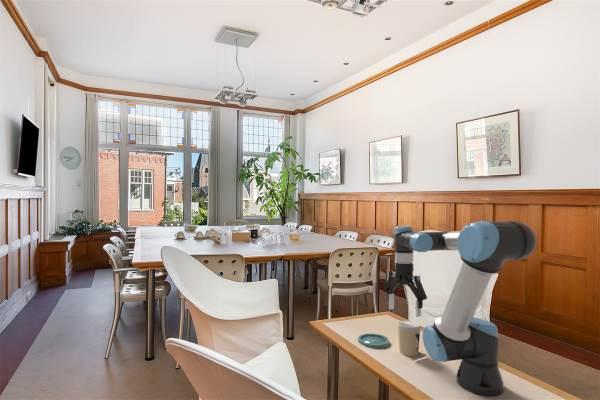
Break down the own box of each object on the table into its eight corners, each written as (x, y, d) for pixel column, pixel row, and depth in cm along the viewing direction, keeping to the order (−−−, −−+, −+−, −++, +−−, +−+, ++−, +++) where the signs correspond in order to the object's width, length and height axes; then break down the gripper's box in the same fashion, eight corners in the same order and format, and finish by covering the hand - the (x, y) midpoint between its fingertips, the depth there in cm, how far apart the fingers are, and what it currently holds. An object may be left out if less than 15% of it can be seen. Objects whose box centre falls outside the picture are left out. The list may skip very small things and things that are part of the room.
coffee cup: (421, 357, 148) (421, 328, 148) (398, 355, 150) (398, 326, 150) (419, 348, 158) (419, 321, 158) (396, 347, 159) (396, 319, 160)
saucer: (395, 344, 163) (395, 340, 163) (373, 351, 155) (373, 347, 155) (373, 334, 174) (373, 331, 174) (351, 340, 167) (351, 337, 167)
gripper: (435, 265, 147) (436, 317, 147) (386, 258, 167) (386, 304, 166) (424, 266, 143) (425, 321, 142) (375, 259, 162) (375, 307, 162)
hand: (404, 312), depth 154 cm, fingers open, 13 cm apart
